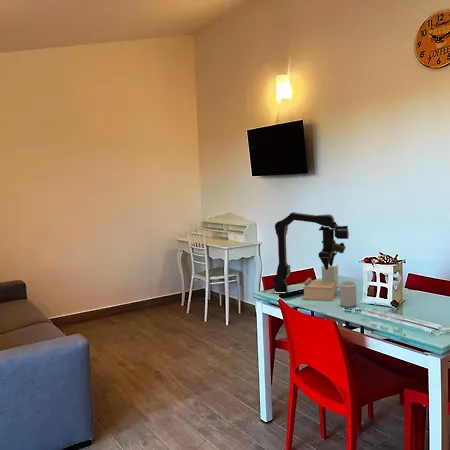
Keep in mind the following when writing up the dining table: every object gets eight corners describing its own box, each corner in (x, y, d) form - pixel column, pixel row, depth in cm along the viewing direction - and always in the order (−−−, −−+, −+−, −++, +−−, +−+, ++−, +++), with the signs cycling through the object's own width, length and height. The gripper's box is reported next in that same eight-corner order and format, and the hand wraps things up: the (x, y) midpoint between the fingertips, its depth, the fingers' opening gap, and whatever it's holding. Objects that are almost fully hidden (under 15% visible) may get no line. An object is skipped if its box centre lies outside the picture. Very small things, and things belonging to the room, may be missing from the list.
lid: (303, 288, 245) (303, 283, 245) (309, 281, 258) (308, 277, 258) (331, 289, 240) (331, 284, 239) (336, 282, 253) (335, 277, 253)
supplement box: (339, 286, 269) (338, 264, 268) (334, 289, 263) (333, 266, 262) (326, 285, 273) (325, 263, 272) (321, 288, 267) (321, 266, 266)
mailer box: (304, 299, 246) (303, 288, 245) (309, 292, 259) (309, 282, 258) (331, 300, 241) (331, 289, 240) (335, 293, 254) (335, 282, 253)
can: (347, 308, 226) (347, 283, 224) (337, 305, 232) (336, 281, 231) (359, 305, 229) (359, 281, 228) (349, 302, 236) (348, 278, 235)
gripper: (339, 241, 238) (340, 272, 240) (347, 236, 255) (348, 265, 257) (317, 241, 243) (318, 271, 245) (326, 236, 260) (327, 264, 261)
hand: (329, 268), depth 252 cm, fingers open, 9 cm apart
